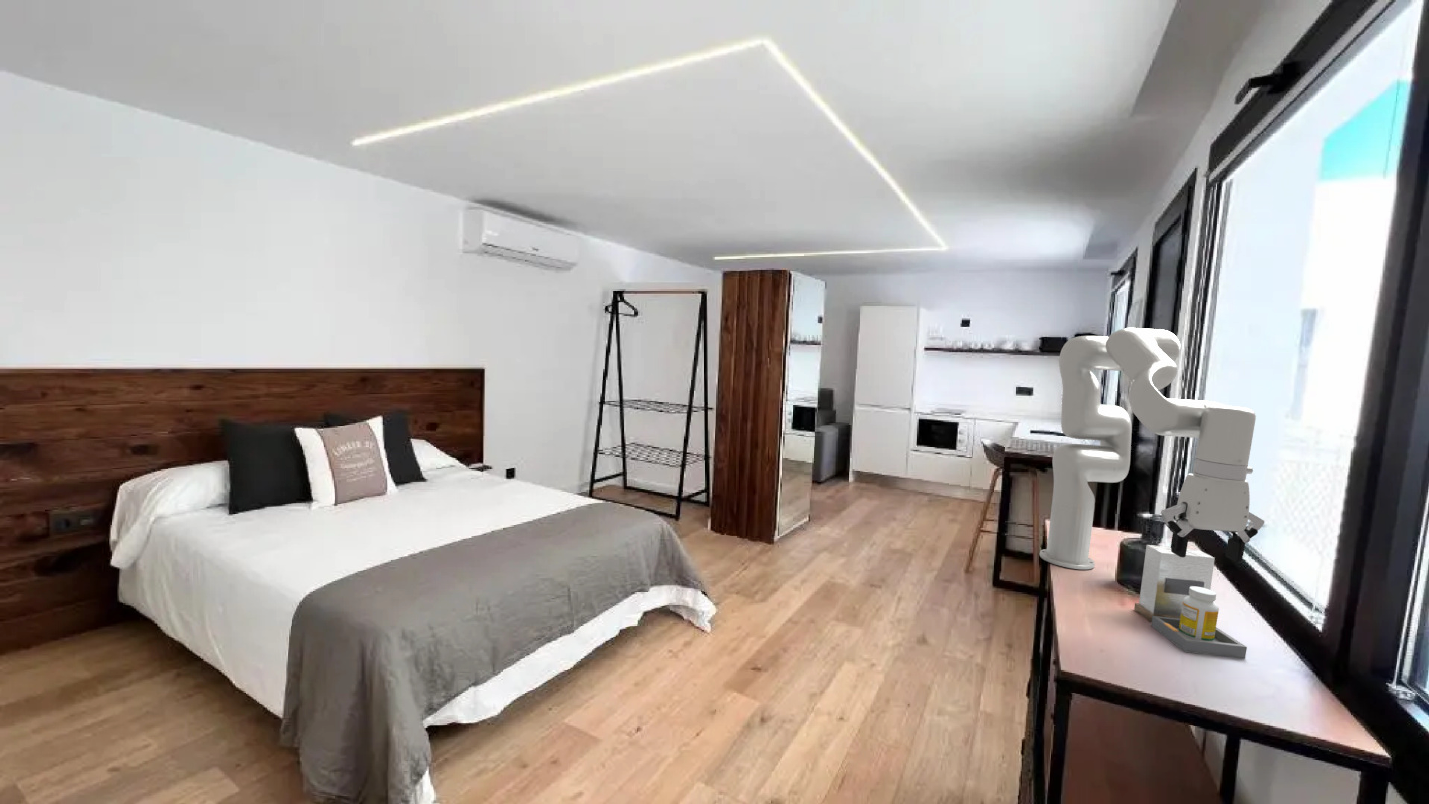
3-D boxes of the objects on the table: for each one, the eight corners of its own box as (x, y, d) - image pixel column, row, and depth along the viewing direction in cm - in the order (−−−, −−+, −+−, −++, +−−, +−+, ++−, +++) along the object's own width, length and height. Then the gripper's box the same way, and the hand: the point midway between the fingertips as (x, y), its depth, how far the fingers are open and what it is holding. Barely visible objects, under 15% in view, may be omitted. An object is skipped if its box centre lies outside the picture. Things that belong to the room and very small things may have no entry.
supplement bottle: (1179, 638, 111) (1185, 590, 111) (1177, 628, 116) (1183, 582, 115) (1216, 647, 108) (1222, 598, 108) (1212, 637, 113) (1218, 589, 112)
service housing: (1134, 609, 125) (1142, 543, 124) (1189, 615, 124) (1198, 548, 123) (1151, 622, 119) (1160, 553, 118) (1209, 628, 118) (1219, 558, 117)
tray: (1151, 626, 118) (1152, 614, 117) (1205, 631, 116) (1207, 620, 116) (1184, 651, 108) (1186, 639, 107) (1245, 658, 106) (1247, 646, 106)
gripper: (1254, 470, 112) (1239, 554, 114) (1157, 462, 114) (1145, 546, 116) (1287, 479, 104) (1271, 570, 106) (1182, 471, 106) (1169, 560, 108)
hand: (1205, 557), depth 111 cm, fingers open, 9 cm apart
